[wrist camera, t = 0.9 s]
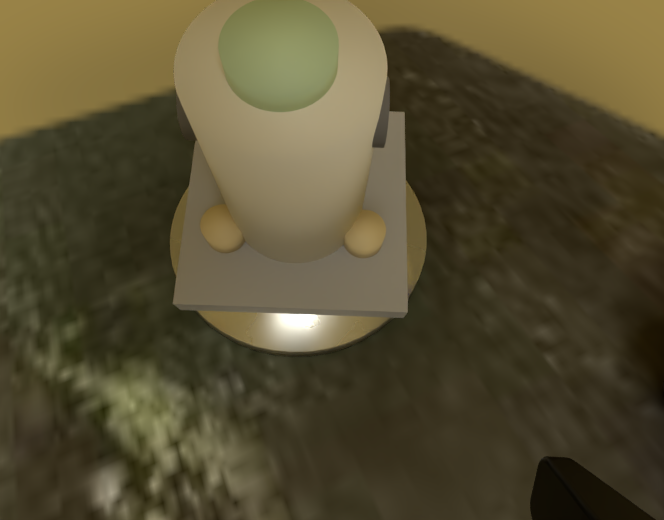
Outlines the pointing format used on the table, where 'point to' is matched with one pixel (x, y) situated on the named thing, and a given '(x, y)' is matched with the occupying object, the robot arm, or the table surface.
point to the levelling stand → (302, 329)
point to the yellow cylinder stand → (290, 163)
